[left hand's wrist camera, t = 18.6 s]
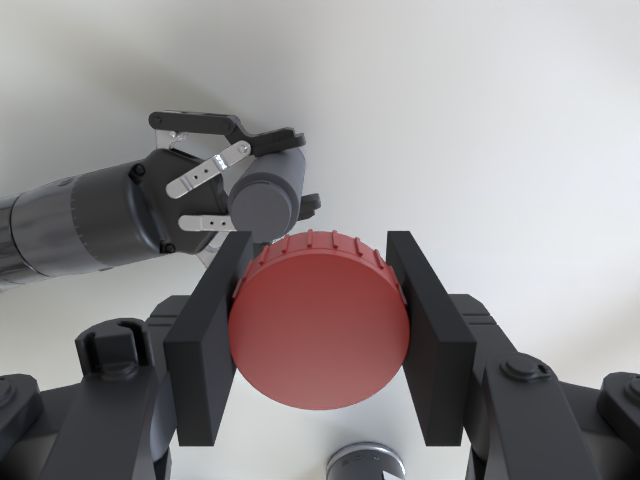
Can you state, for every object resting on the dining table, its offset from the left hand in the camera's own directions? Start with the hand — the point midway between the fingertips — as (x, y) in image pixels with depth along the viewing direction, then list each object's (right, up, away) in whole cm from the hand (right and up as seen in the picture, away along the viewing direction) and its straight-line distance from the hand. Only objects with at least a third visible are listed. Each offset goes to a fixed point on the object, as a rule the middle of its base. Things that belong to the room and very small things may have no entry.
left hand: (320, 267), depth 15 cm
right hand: (-1, +6, +16) cm, 18 cm away
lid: (0, -1, -4) cm, 4 cm away
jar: (-3, +8, +22) cm, 24 cm away
